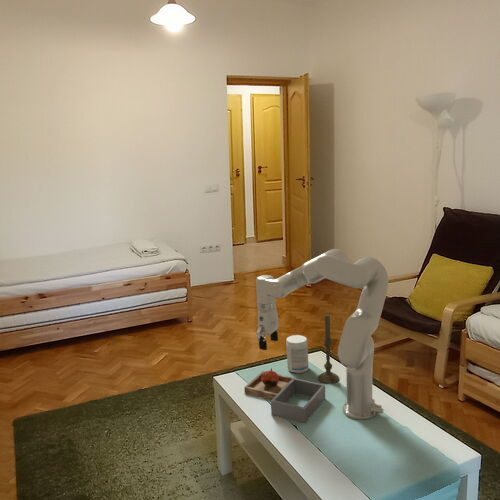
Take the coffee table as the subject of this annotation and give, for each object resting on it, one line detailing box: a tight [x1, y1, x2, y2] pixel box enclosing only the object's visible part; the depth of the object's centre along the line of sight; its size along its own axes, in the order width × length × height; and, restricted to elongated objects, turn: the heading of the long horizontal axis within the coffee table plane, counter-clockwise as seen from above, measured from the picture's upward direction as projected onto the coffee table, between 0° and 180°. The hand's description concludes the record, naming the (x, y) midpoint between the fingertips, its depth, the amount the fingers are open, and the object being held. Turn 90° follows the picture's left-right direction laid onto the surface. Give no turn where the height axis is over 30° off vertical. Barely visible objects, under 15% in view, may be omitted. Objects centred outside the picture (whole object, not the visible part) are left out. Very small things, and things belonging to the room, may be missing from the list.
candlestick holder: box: [317, 313, 340, 385], centre depth 206 cm, size 9×9×30 cm
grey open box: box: [270, 377, 326, 425], centre depth 188 cm, size 14×20×6 cm
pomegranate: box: [261, 368, 279, 390], centre depth 203 cm, size 7×7×10 cm
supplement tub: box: [285, 334, 309, 374], centre depth 219 cm, size 10×10×15 cm
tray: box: [243, 370, 294, 401], centre depth 204 cm, size 16×16×3 cm
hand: (268, 344), depth 200 cm, fingers open, 9 cm apart
